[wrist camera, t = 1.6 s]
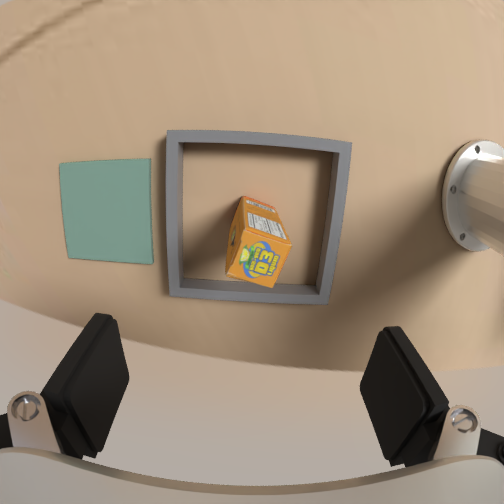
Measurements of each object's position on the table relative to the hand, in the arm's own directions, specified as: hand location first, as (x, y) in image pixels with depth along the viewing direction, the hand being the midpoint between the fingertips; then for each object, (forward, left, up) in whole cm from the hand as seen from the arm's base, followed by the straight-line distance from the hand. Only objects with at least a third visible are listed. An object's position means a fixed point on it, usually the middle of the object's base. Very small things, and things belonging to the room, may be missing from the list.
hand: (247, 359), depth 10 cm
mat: (+14, 0, -18) cm, 23 cm away
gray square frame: (0, 0, -18) cm, 18 cm away
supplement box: (0, 0, -19) cm, 19 cm away
